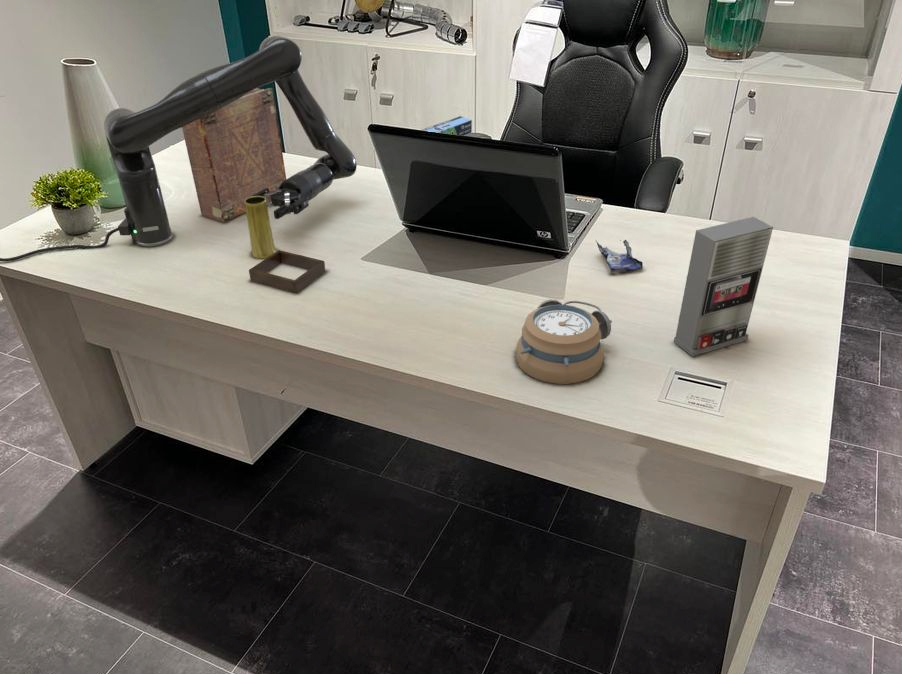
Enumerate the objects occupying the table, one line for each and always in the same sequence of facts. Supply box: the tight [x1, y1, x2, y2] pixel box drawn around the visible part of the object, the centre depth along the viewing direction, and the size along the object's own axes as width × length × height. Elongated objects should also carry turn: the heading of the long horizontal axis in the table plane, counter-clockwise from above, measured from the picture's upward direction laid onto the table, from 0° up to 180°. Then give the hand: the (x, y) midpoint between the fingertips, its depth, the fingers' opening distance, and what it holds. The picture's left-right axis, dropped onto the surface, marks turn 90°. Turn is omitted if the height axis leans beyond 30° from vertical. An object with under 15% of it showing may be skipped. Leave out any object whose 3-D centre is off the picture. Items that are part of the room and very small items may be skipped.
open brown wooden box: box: [248, 249, 327, 294], centre depth 182 cm, size 14×12×3 cm
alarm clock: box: [515, 299, 613, 385], centre depth 152 cm, size 17×9×23 cm
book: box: [181, 87, 287, 224], centre depth 210 cm, size 25×9×30 cm, turn 145°
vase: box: [244, 196, 277, 259], centre depth 189 cm, size 6×6×14 cm
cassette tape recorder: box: [673, 216, 774, 357], centre depth 148 cm, size 14×6×25 cm, turn 114°
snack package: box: [595, 239, 644, 273], centre depth 183 cm, size 12×6×12 cm
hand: (261, 212), depth 188 cm, fingers open, 8 cm apart
